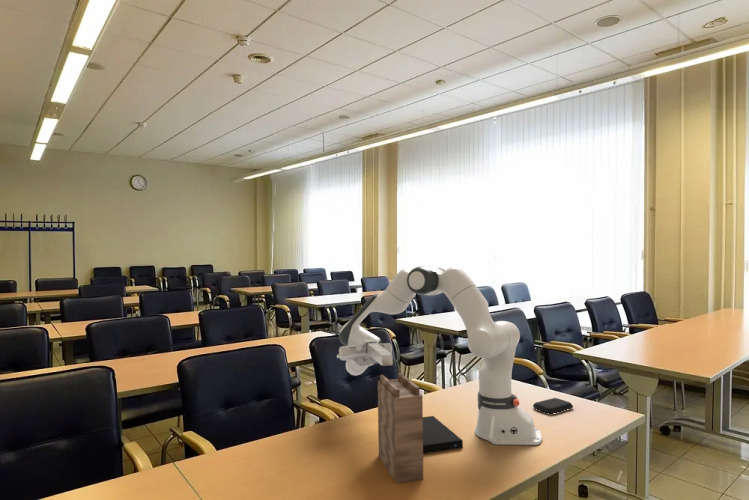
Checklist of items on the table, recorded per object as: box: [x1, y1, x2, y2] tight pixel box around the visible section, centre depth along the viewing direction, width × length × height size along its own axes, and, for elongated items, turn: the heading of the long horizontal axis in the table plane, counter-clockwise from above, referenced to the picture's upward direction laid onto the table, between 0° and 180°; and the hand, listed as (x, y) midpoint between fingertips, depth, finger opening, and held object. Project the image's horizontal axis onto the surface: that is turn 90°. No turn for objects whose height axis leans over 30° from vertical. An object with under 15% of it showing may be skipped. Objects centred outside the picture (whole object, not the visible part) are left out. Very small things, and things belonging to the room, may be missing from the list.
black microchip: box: [532, 397, 574, 415], centre depth 190 cm, size 11×3×15 cm
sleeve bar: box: [362, 339, 394, 367], centre depth 164 cm, size 26×4×4 cm, turn 16°
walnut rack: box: [377, 372, 424, 485], centre depth 141 cm, size 18×8×26 cm, turn 16°
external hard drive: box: [423, 415, 464, 455], centre depth 164 cm, size 14×23×3 cm, turn 17°
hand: (369, 344), depth 173 cm, fingers closed on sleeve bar, 3 cm apart
